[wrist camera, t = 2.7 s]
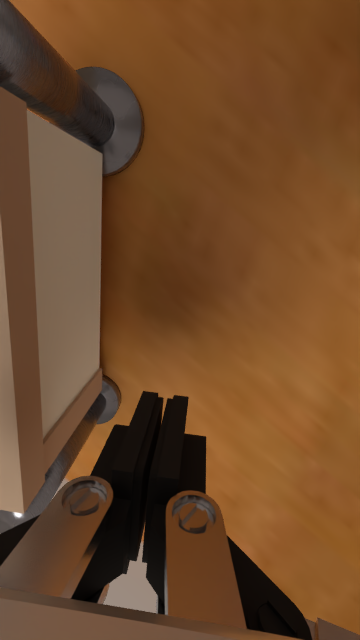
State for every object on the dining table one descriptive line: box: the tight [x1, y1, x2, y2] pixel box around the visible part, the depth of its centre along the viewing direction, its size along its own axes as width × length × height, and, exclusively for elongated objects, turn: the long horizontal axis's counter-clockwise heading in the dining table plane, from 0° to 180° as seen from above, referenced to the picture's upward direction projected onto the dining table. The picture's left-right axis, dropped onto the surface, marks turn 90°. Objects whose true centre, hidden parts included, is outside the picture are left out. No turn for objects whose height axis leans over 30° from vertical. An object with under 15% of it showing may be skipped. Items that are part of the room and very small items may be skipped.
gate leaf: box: [0, 87, 102, 514], centre depth 15 cm, size 14×2×9 cm, turn 175°
